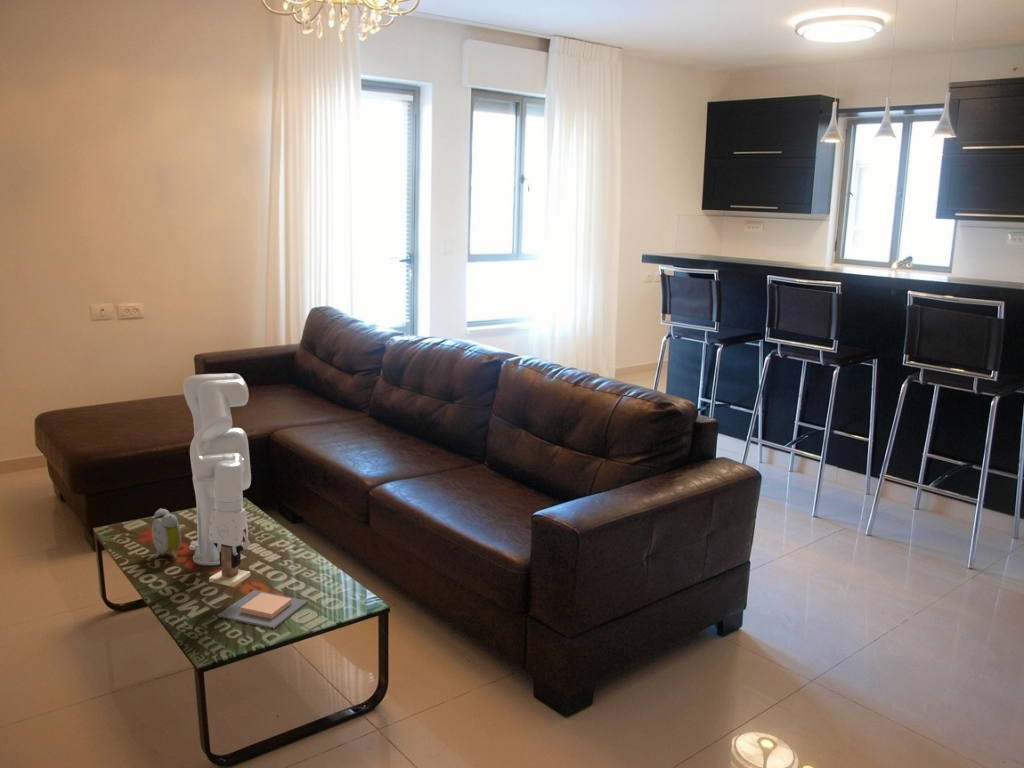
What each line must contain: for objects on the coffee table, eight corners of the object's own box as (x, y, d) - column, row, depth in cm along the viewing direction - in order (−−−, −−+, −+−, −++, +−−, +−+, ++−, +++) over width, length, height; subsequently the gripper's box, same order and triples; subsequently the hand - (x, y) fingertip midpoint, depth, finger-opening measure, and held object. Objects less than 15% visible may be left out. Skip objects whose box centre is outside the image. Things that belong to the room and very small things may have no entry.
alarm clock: (182, 559, 266) (181, 515, 263) (161, 564, 261) (159, 519, 258) (168, 548, 274) (166, 505, 271) (147, 553, 269) (145, 509, 266)
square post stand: (209, 581, 234) (208, 547, 232) (226, 570, 242) (226, 537, 240) (233, 586, 232) (232, 552, 230) (250, 575, 239) (250, 542, 237)
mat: (217, 616, 230) (217, 614, 229) (254, 591, 245) (254, 589, 245) (273, 629, 224) (273, 627, 224) (307, 602, 240) (307, 600, 240)
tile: (240, 607, 231) (271, 613, 228) (261, 592, 240) (291, 598, 237) (240, 612, 231) (271, 619, 228) (261, 597, 241) (291, 604, 238)
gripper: (195, 504, 231) (197, 565, 235) (245, 513, 226) (246, 575, 230) (212, 495, 238) (214, 555, 242) (261, 504, 233) (262, 565, 237)
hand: (230, 564), depth 236 cm, fingers closed on square post stand, 3 cm apart
